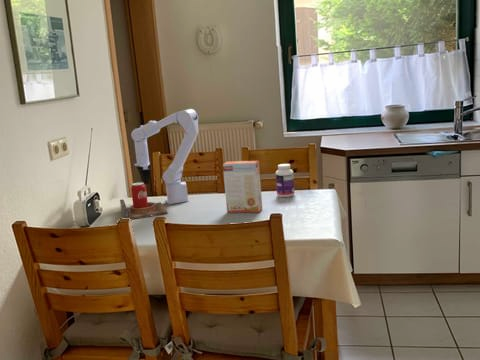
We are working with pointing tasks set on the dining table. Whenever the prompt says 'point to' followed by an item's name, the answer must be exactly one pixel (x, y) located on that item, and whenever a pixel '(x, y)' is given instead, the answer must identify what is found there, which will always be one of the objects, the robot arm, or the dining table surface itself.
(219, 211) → the dining table surface
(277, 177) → the pill bottle
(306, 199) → the dining table surface
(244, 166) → the cracker box
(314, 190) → the dining table surface
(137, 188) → the beverage can
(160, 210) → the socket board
